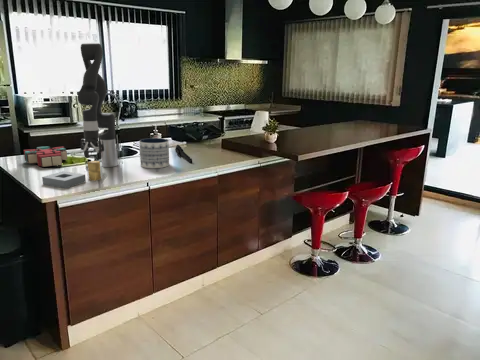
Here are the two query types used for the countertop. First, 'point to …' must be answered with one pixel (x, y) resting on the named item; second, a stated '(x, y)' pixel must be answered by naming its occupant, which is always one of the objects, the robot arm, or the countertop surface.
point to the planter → (154, 152)
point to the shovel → (182, 153)
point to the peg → (94, 170)
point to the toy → (46, 156)
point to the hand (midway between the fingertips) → (93, 158)
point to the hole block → (64, 179)
